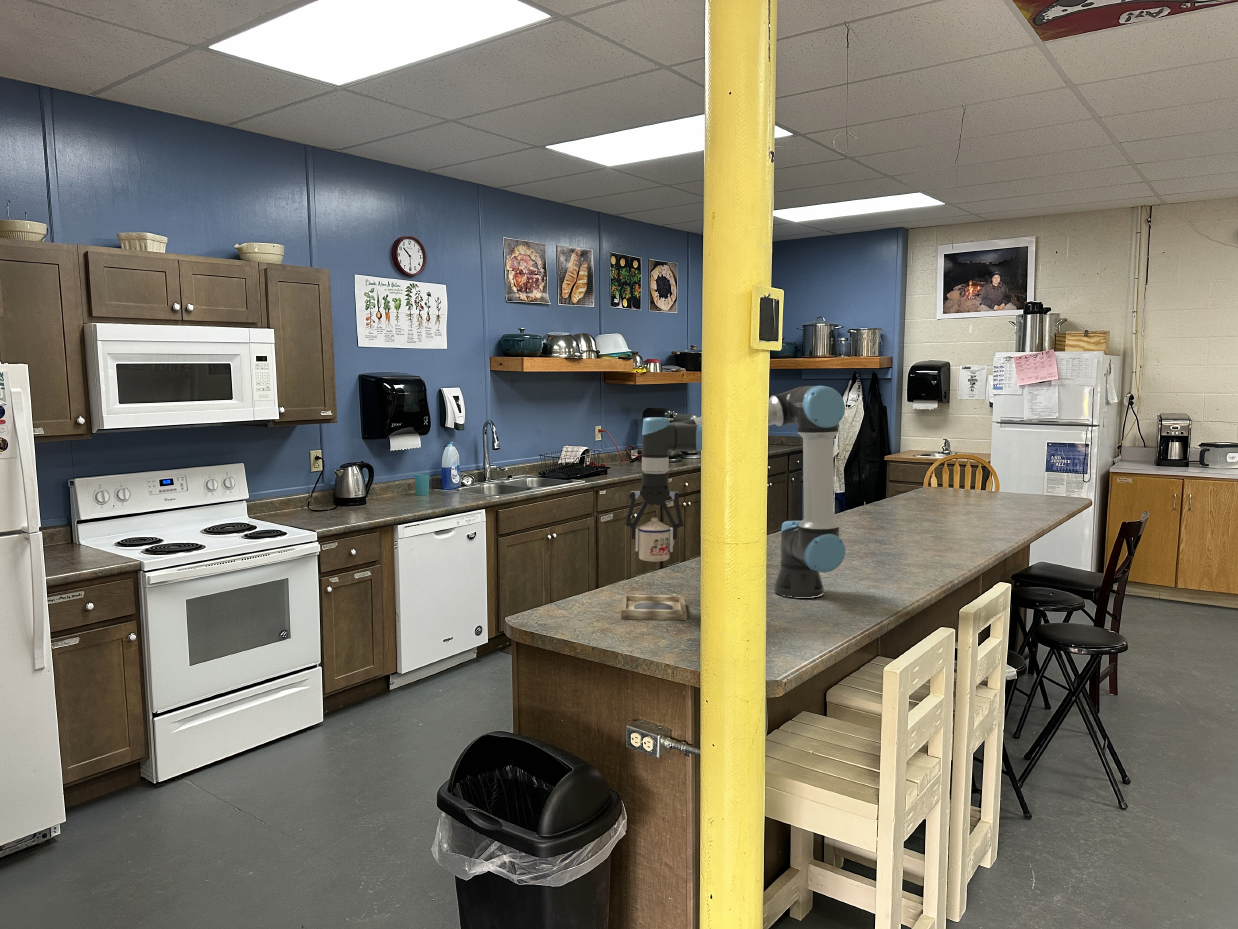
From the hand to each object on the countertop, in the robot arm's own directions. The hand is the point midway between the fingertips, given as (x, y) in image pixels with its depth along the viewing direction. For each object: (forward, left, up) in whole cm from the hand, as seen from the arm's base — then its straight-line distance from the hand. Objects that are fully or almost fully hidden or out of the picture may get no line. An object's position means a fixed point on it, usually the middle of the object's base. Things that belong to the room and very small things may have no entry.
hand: (653, 550), depth 235 cm
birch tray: (0, 0, -18) cm, 18 cm away
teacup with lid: (-1, 0, -2) cm, 3 cm away
